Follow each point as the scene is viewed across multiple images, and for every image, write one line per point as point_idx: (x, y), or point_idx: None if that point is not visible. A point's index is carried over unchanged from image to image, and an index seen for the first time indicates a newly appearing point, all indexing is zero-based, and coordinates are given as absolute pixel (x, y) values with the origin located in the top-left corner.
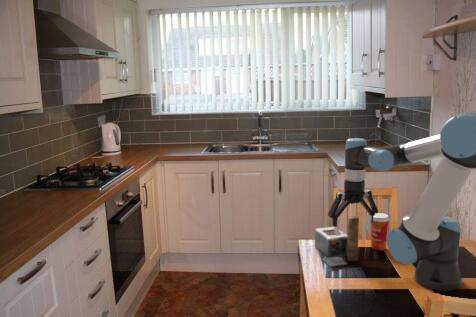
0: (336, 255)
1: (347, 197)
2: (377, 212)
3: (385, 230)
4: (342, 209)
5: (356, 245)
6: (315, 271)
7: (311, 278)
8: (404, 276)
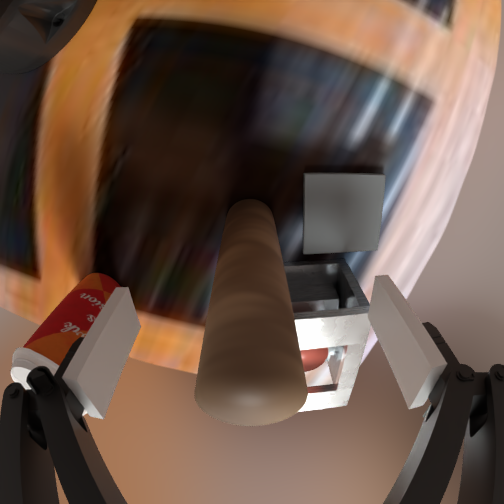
0: (305, 263)
1: None
2: (13, 385)
3: (47, 321)
4: (439, 463)
5: (239, 230)
6: (443, 160)
7: (472, 117)
8: (114, 24)
